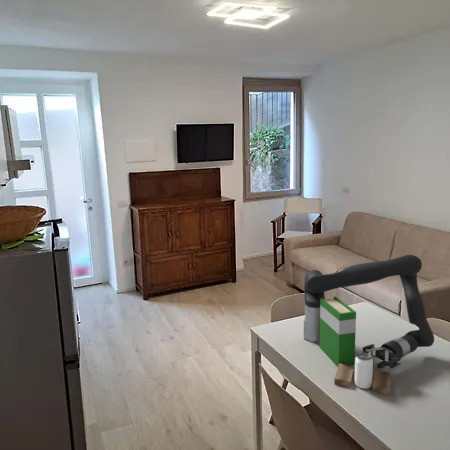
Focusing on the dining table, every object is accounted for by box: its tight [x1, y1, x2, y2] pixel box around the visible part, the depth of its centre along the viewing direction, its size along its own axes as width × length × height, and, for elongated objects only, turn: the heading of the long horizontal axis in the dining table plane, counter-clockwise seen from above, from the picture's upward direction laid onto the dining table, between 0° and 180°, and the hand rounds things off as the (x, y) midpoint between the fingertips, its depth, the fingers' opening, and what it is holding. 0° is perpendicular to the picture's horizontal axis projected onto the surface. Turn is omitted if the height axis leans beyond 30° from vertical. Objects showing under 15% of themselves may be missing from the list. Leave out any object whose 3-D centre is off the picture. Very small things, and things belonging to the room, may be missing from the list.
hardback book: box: [319, 296, 357, 368], centre depth 177 cm, size 18×7×24 cm, turn 13°
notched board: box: [333, 363, 392, 396], centre depth 160 cm, size 20×12×2 cm, turn 66°
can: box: [354, 352, 374, 390], centre depth 157 cm, size 6×6×12 cm
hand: (368, 361), depth 158 cm, fingers open, 8 cm apart
